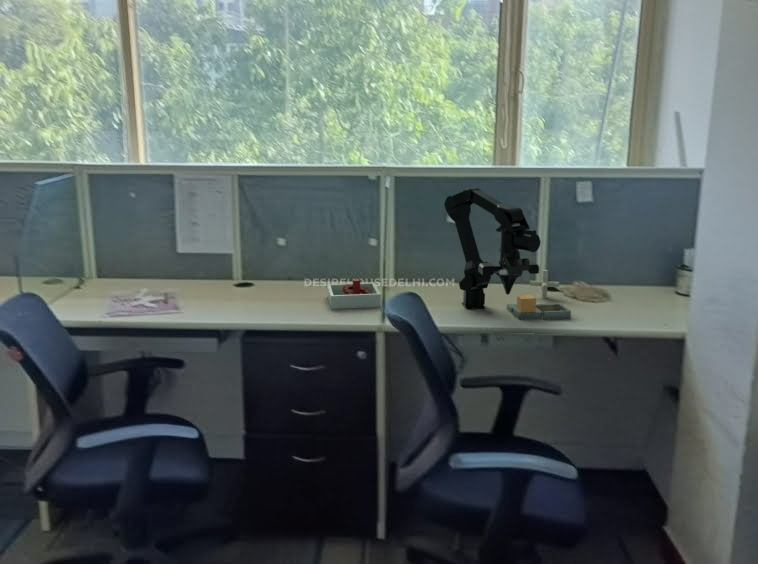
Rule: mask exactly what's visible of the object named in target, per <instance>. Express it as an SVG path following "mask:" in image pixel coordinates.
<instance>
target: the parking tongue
mask: <svg viewBox="0 0 758 564" xmlns="http://www.w3.org/2000/svg"><path fill="white" fill-rule="evenodd" d="M513 308H517V303H511V304H510V303H509V304H508V303H507V304H506V310H507V311H509V312H510V313H511V314H513Z"/></svg>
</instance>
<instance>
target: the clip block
mask: <svg viewBox="0 0 758 564" xmlns="http://www.w3.org/2000/svg"><path fill="white" fill-rule="evenodd" d="M516 304H517V310H518V311H520V312H536V304H537V298H536V297H535V296H533V295H532V294H531V295H530V294H529V295H528V294H527V295H517V298H516Z"/></svg>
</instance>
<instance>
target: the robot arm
mask: <svg viewBox="0 0 758 564" xmlns="http://www.w3.org/2000/svg"><path fill="white" fill-rule="evenodd" d="M443 203H444V208H445V210H446V213H447V216H448V217H449V218H450V219H451V221H453V222H454V224H455V227H456V231H457V232H456V233H457V235H458V237H459V241H460V245H461V249H462V253H463V256H464V259H465V266H464V269H463V272H464V277H463V278H462V279H461V280H460V281H459V282H458V286H459V289H460V290H461V291H463V302H461V305H463V307H464V308H465V309H468V310H469V309H470V310H471V309H485V308H486V307H485V304H486V302H485V301H486V293H485V292H484V290H485V289H487V288H488V286H489V283H490V281H491V279H492V276H493V275H494V274H496V276H498V277H499V278H500V279H499V280H500V281H501V284H502V286H503V290H504V292H505V295H510V293H511V292H512V289H513V286H514V284H515V281H516V280H517V279H518V278H520V277H522V276H523V273H524V272H525V271H526V272H528V273H529V274H530V275H531V274H532V275H533V274H540V266H539V264H537V263H536V262H534V261H531V260H530V258H528V257H526V258H521V253H520V250H521V251H525V252H528V253H529V252H530V253H536V252H537V251H538V250H539V249H540V246H541V243H542V242H541V238H540V236H539V235H538V234H537V230H536V229H531V228H530V225H529V223H528V221H527V220H526V217H525V214H524V211H523V210H522V208H520V207H518V206H515V205H512V204H506V203H504V202H501V201H499V200H498V199H496V198H494V197H492V196H491V195H489V194H487V193H485V192H484V191H483V190H481V189H480V188H479V187H470V188H469V187H468V188H466V189H465V190H463V191H460V192H459V193H456V194H454V195H453V194H452V195H448V196H447V197H446V198H445V201H444V202H443ZM474 204H475V205H477V206H478V207H479V208H480V209H483V210H485V211H486V212H488V214H491V215H492V216H493V217H494V220H495V221H496V222H497V223H498V224H500V226H499V227H497V228H496V232H499V233H500V248H499V255H500V256H499V261H498V265H494V264H493V263H491V262H488V261H484V260H483V259H481V256H480V252H479V249H478V246H477V242H476V238H475V235H474V232H473V228H472V224H471V221H470V215H471V212H472V208H471V207H472V205H474Z"/></svg>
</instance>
